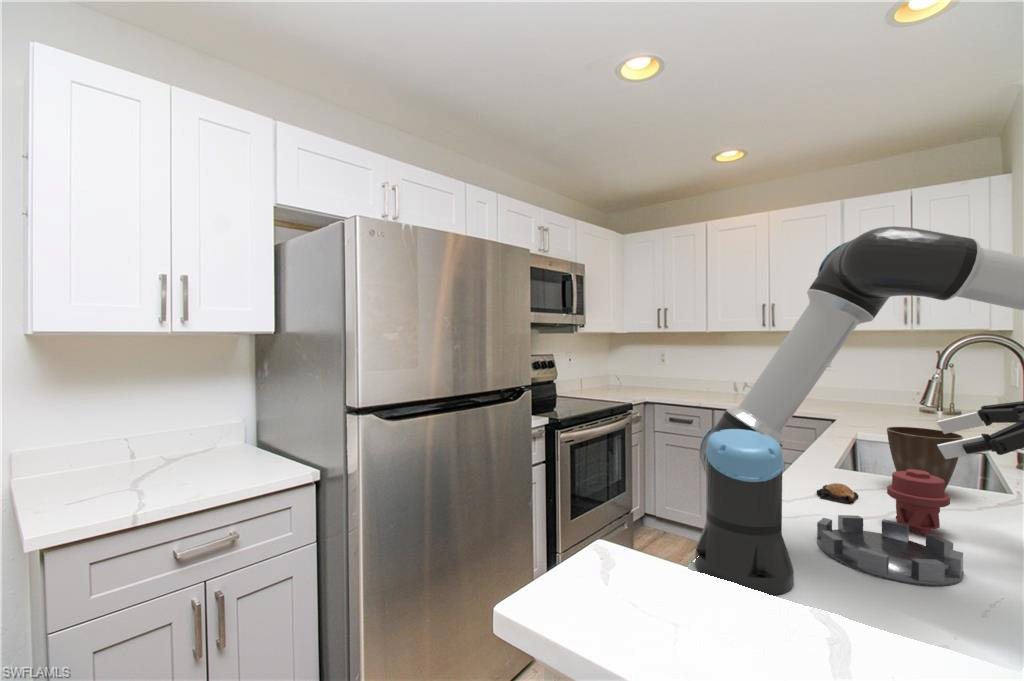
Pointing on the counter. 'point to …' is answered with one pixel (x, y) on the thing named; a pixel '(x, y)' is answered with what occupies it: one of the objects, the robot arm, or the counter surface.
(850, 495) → the bread roll
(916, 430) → the plant pot
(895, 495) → the mechanical component
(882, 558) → the castellated collar
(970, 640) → the counter surface
